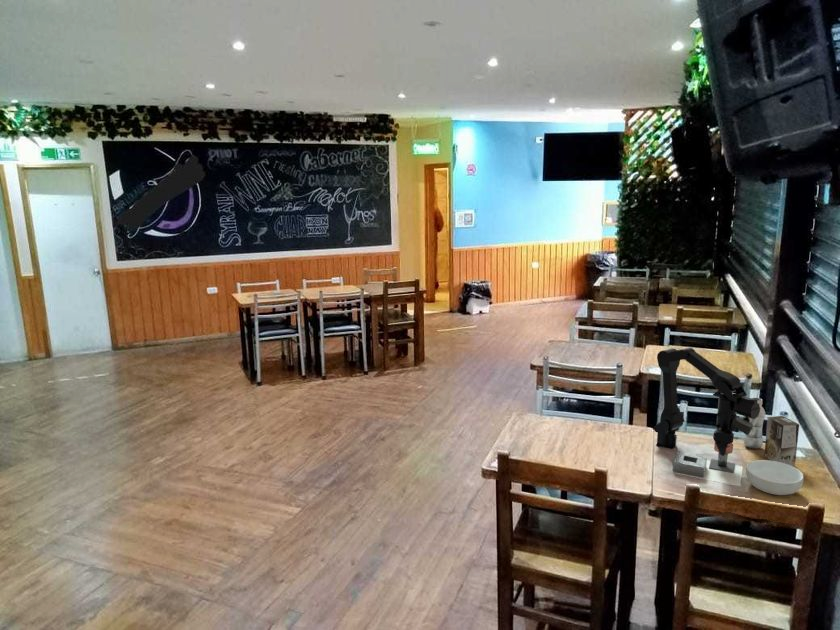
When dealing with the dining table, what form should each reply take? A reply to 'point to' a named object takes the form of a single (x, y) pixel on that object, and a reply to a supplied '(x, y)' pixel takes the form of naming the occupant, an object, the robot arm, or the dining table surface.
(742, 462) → the dining table surface
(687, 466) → the metal block
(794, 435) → the coffee box
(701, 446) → the dining table surface
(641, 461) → the dining table surface
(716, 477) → the board
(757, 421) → the plastic bottle
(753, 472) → the cereal bowl
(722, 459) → the copper disc with stripe
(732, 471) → the pad
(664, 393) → the robot arm
